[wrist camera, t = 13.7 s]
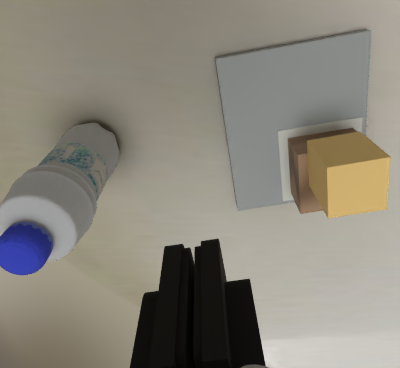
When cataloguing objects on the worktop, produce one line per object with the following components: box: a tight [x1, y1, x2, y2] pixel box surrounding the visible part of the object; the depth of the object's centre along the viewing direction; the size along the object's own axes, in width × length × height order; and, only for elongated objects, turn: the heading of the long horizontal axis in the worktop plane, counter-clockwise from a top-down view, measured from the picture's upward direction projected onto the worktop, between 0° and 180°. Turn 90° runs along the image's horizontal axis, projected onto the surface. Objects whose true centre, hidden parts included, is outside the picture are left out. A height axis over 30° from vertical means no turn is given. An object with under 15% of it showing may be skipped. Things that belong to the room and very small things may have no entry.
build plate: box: [215, 29, 371, 211], centre depth 38 cm, size 18×15×1 cm
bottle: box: [0, 123, 120, 275], centre depth 31 cm, size 7×7×20 cm
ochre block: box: [307, 131, 391, 218], centre depth 32 cm, size 5×5×6 cm
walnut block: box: [288, 128, 357, 214], centre depth 38 cm, size 7×7×4 cm
